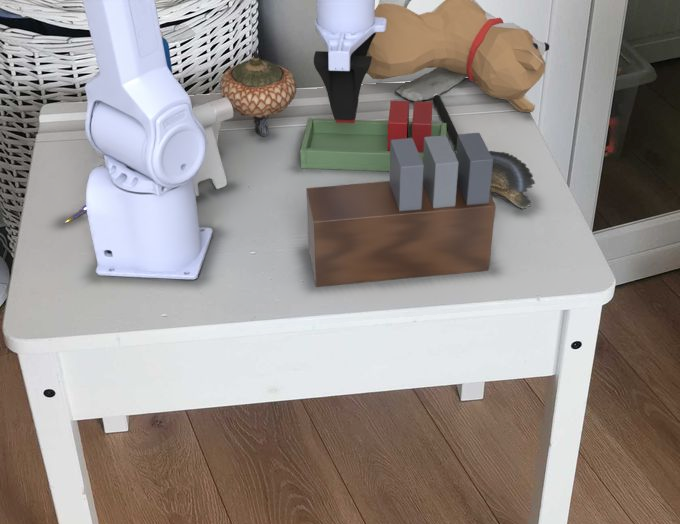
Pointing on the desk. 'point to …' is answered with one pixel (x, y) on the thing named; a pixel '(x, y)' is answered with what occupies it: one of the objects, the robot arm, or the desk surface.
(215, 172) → the tablet stand
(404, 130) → the rack books
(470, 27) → the toy
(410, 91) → the stone tool
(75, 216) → the pen
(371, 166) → the green book tray
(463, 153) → the grey books
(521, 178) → the eagle figurine
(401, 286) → the desk surface
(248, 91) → the acorn
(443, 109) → the pen
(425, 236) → the wood grain box
